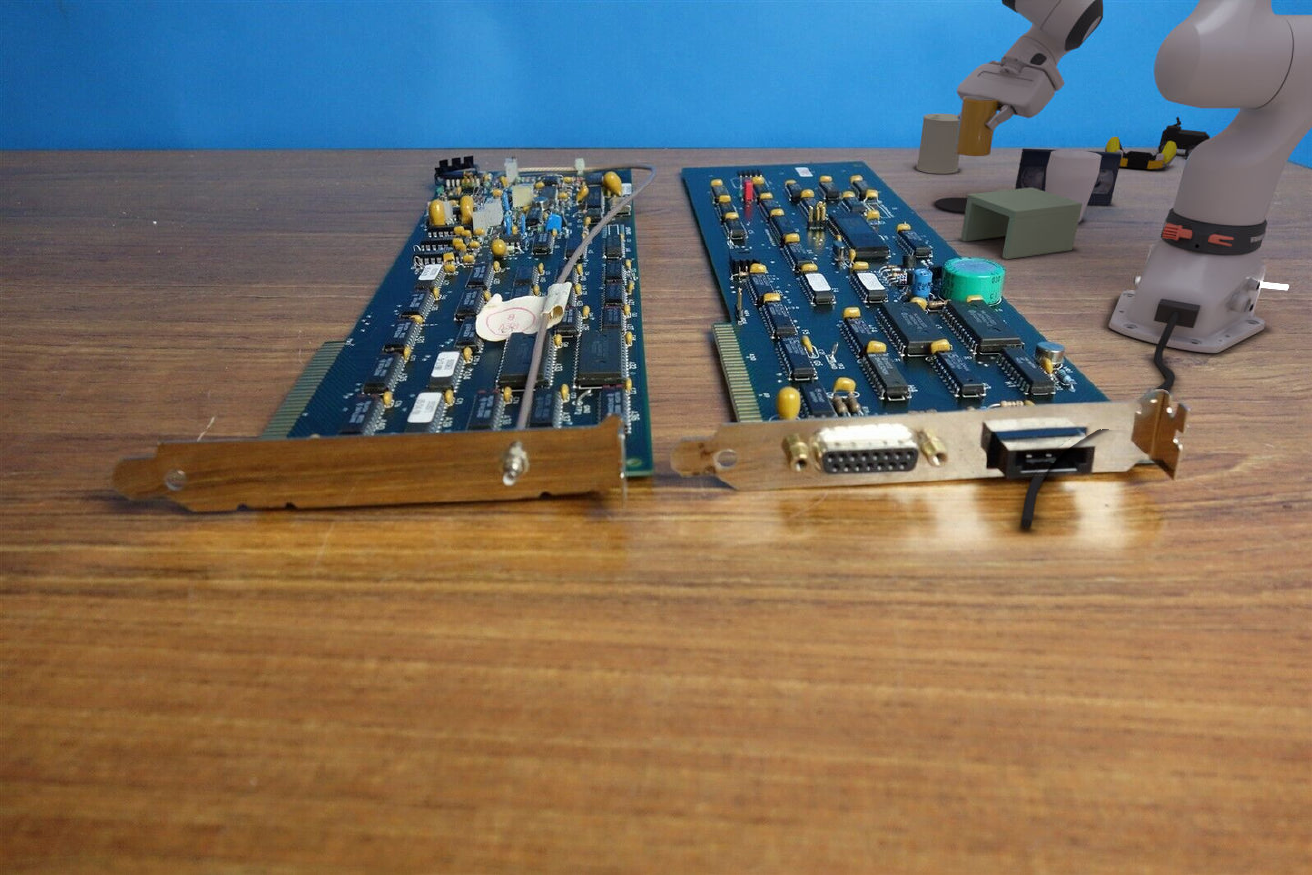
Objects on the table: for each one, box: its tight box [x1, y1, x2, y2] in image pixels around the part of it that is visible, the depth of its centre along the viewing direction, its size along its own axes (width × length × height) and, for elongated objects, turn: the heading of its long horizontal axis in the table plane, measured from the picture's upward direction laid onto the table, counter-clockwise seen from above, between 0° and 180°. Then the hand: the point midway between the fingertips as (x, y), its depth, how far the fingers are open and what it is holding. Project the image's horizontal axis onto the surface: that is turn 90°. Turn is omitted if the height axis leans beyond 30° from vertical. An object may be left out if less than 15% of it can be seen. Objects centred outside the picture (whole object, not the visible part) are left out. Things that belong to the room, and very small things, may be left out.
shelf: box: [960, 187, 1082, 260], centre depth 160 cm, size 14×12×8 cm
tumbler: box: [955, 95, 998, 157], centre depth 177 cm, size 6×6×10 cm
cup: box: [1045, 149, 1101, 223], centre depth 174 cm, size 9×9×12 cm
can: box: [916, 113, 961, 175], centre depth 211 cm, size 9×9×12 cm
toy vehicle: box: [1157, 116, 1211, 159], centre depth 225 cm, size 8×15×9 cm, turn 54°
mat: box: [934, 196, 968, 215], centre depth 184 cm, size 11×11×1 cm
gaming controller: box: [1104, 136, 1178, 170], centre depth 216 cm, size 15×6×10 cm
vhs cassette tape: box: [1014, 148, 1122, 206], centre depth 186 cm, size 18×3×10 cm, turn 76°
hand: (974, 124), depth 177 cm, fingers closed on tumbler, 6 cm apart
